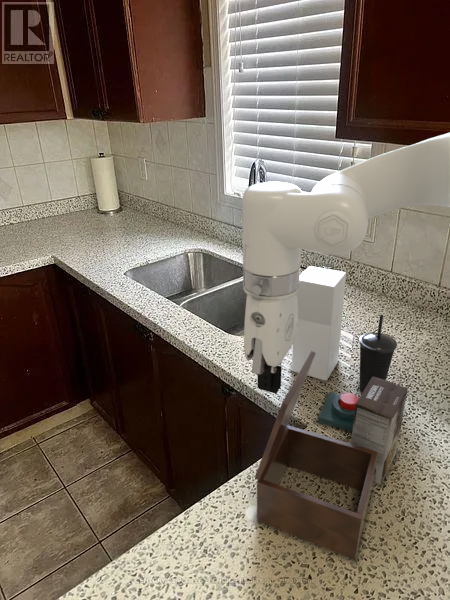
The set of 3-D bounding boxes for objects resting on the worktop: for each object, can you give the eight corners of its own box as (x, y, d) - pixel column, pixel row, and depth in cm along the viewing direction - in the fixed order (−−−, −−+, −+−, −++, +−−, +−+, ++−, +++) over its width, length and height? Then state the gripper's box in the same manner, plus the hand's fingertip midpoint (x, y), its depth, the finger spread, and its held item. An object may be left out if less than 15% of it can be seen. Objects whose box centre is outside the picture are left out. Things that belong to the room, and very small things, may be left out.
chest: (370, 493, 77) (377, 451, 72) (354, 563, 66) (361, 519, 62) (284, 464, 83) (286, 424, 79) (256, 524, 72) (256, 481, 68)
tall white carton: (326, 383, 104) (334, 287, 93) (291, 373, 108) (295, 279, 97) (337, 364, 111) (346, 271, 100) (304, 355, 115) (309, 265, 104)
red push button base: (375, 411, 95) (377, 396, 94) (367, 439, 88) (369, 424, 86) (328, 399, 99) (330, 384, 98) (317, 425, 92) (319, 410, 90)
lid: (315, 352, 70) (311, 350, 70) (287, 405, 59) (282, 402, 59) (288, 423, 78) (284, 421, 79) (259, 480, 68) (254, 478, 68)
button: (359, 401, 93) (360, 395, 92) (355, 412, 90) (356, 405, 89) (341, 397, 94) (342, 390, 93) (337, 407, 91) (338, 401, 91)
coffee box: (363, 441, 88) (372, 374, 80) (396, 455, 84) (409, 386, 77) (345, 472, 81) (354, 402, 74) (380, 488, 78) (393, 417, 70)
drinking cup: (382, 408, 96) (396, 328, 87) (348, 396, 100) (357, 318, 91) (392, 389, 102) (405, 312, 93) (359, 378, 106) (368, 303, 97)
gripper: (278, 307, 52) (275, 427, 60) (314, 262, 64) (307, 367, 72) (221, 296, 55) (225, 411, 64) (265, 255, 67) (264, 357, 75)
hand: (269, 388), depth 68 cm, fingers closed
